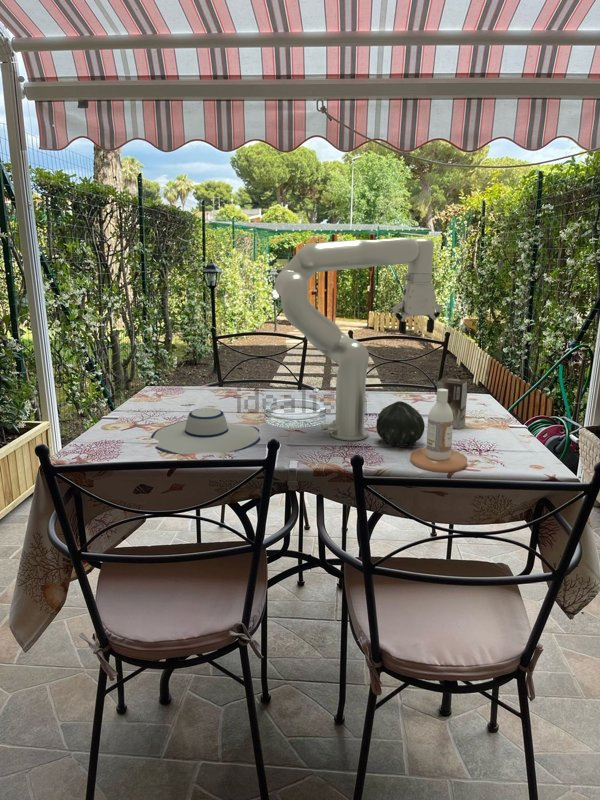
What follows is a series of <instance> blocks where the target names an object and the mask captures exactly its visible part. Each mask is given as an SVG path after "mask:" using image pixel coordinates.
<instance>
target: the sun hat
mask: <svg viewBox="0 0 600 800" xmlns="http://www.w3.org/2000/svg"><path fill="white" fill-rule="evenodd" d="M150 438H151V439H153V440H156V441H158V443H157V444H156V445H155V447H154V449H156V450H158V451H160V452H161V451H162V452H163V453H164V452H165V453H167V454H170V455H187V454H203V453H204V454H208V453H211V454H212V453H217V454H218V453H219V454H221V453H222V454H223V453H234V452H239V451H243V450H246V449H249V448H251V447H253V446H255V445H256V444H258V443H259V442H260V441H261V435H260V429H259V428H258V427H256V426H253V425H242V424H241V425H240V424H234V423H230V422H228V421H227V418H226V416H225V413H224V412H223V411H222V410H221V409H217V408H212V407H203V408H198V409H197V408H196V409H193V410H191V411H190V412H189V413H188V416H187V419H185V420H180V421H177V422H174V423H171V424H169V425H166V426H163V427H160V428H158V429H157V430H155V431H154V432H152V434H151V436H150Z"/></svg>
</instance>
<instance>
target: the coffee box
mask: <svg viewBox="0 0 600 800" xmlns="http://www.w3.org/2000/svg"><path fill="white" fill-rule="evenodd" d="M468 385H469V380H464V379H457V378H448V377H442V378H441V379H439V380H437V383H436V391H437V390H438V389H447V390H448V399H447V403H448V405H449V406H450V408H451V410H452V413H453V429H457V430H461V429H462V428H463V427H464V426H465V425H466V414H467V413H466V412H467V399H468V389H469V388H468ZM436 402H437V398H436ZM436 402H435V403H436Z"/></svg>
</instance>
